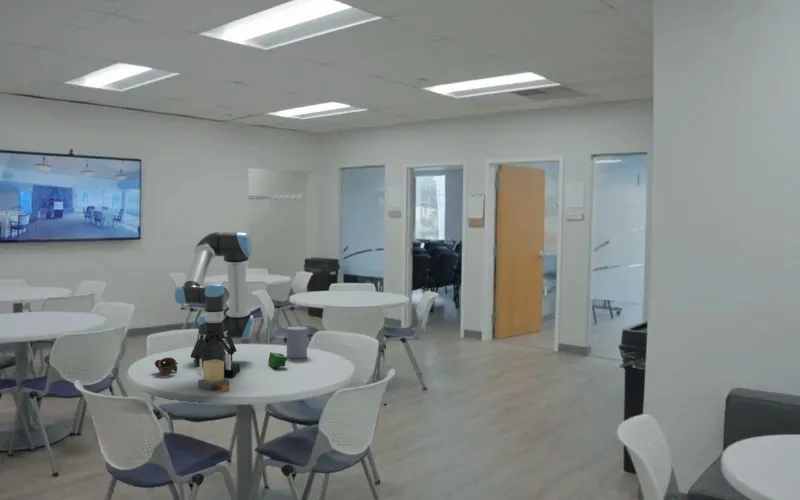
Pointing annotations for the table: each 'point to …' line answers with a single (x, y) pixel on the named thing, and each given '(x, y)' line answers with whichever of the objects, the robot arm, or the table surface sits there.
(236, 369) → the battery charger
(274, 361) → the clamp
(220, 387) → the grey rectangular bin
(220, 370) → the tan rectangular block
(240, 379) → the table surface
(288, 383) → the table surface
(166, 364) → the pottery mug
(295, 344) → the container
